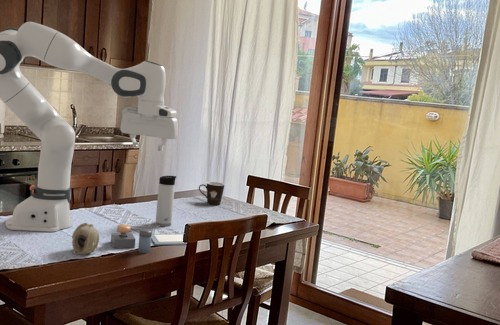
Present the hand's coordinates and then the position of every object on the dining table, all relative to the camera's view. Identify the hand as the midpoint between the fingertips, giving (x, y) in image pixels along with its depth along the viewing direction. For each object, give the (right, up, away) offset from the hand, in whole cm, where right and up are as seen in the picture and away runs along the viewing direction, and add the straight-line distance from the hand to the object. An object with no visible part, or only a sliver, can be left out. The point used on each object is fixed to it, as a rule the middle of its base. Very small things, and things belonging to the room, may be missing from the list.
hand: (147, 148), depth 182 cm
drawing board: (+7, -33, +7) cm, 34 cm away
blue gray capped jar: (0, -34, -7) cm, 35 cm away
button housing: (-8, -33, -3) cm, 34 cm away
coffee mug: (+17, -25, +72) cm, 78 cm away
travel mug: (+1, -30, +26) cm, 40 cm away
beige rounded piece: (-17, -34, -15) cm, 41 cm away
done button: (-8, -31, -4) cm, 32 cm away
